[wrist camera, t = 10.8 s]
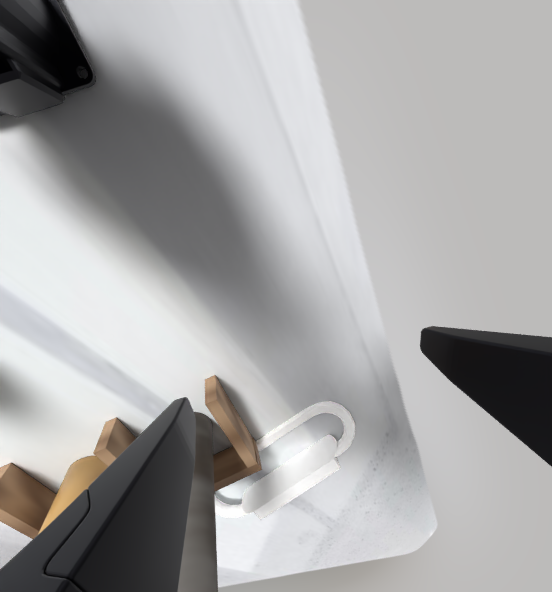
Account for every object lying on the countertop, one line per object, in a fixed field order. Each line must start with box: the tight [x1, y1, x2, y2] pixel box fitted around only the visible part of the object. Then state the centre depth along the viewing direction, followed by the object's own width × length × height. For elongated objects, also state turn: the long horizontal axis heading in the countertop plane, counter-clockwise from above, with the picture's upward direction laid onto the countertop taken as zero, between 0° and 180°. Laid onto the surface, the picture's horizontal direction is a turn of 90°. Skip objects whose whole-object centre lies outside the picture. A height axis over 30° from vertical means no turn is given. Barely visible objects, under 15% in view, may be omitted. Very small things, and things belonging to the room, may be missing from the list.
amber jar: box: [38, 456, 108, 534], centre depth 22 cm, size 4×4×8 cm
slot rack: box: [0, 376, 262, 539], centre depth 25 cm, size 11×20×3 cm, turn 108°
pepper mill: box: [178, 412, 218, 592], centre depth 19 cm, size 5×5×16 cm
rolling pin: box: [215, 401, 355, 520], centre depth 30 cm, size 20×8×4 cm, turn 122°
